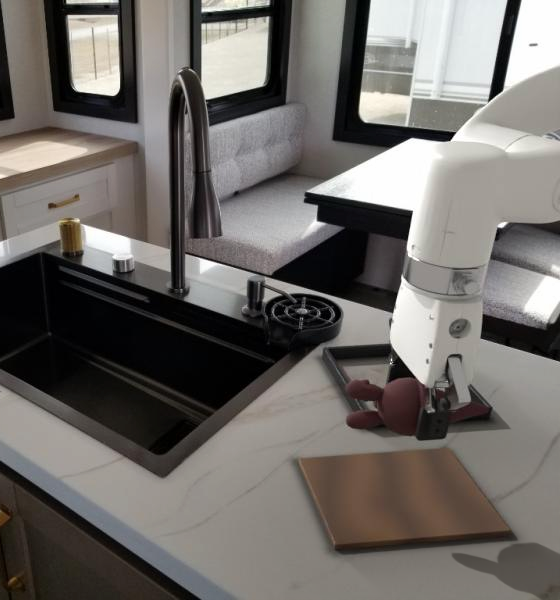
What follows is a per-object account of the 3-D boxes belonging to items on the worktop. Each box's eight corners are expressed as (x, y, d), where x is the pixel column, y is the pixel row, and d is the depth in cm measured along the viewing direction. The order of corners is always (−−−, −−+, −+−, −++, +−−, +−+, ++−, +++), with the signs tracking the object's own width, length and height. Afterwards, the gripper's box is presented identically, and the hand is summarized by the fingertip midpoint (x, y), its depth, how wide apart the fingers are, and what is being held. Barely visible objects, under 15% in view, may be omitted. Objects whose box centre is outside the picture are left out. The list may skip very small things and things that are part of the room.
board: (447, 452, 83) (448, 447, 83) (509, 535, 71) (510, 530, 71) (298, 463, 82) (298, 458, 82) (334, 549, 70) (335, 544, 69)
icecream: (481, 367, 72) (343, 365, 75) (500, 390, 65) (347, 386, 68) (477, 425, 73) (342, 420, 77) (497, 453, 66) (347, 447, 69)
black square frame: (429, 352, 106) (431, 340, 105) (489, 420, 89) (492, 407, 88) (321, 358, 104) (323, 347, 103) (363, 428, 88) (365, 415, 87)
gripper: (533, 309, 56) (487, 466, 64) (438, 237, 71) (411, 370, 79) (450, 313, 55) (415, 471, 63) (372, 240, 70) (352, 374, 79)
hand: (413, 414), depth 71 cm, fingers closed on icecream, 7 cm apart
